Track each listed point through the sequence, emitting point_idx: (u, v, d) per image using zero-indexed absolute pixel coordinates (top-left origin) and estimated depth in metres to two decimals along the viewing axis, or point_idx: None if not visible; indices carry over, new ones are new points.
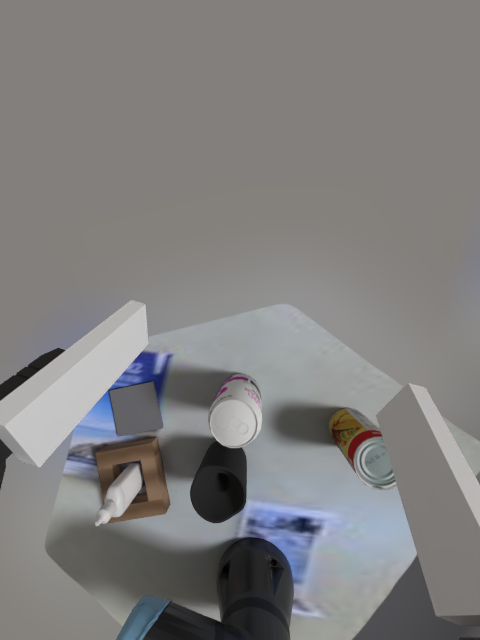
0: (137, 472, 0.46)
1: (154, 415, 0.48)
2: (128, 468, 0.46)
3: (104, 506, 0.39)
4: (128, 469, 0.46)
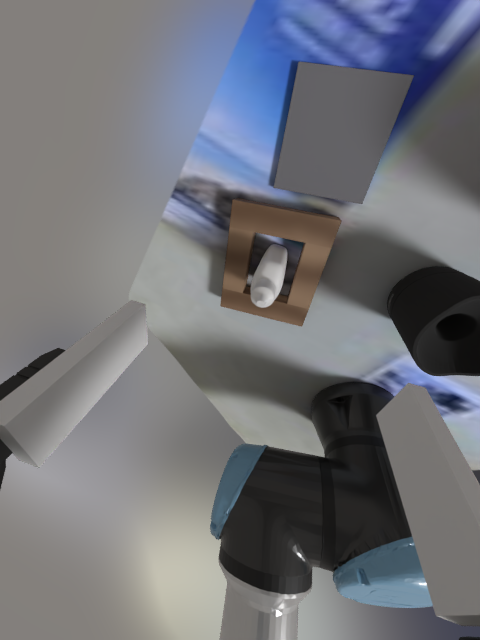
0: (286, 260, 0.29)
1: (363, 170, 0.23)
2: (277, 248, 0.28)
3: (265, 284, 0.22)
4: (279, 250, 0.27)
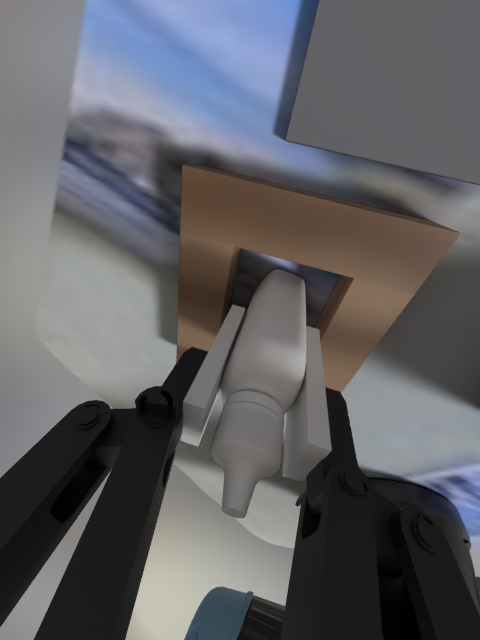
0: None
1: None
2: (286, 284, 0.13)
3: (255, 424, 0.07)
4: (291, 289, 0.12)
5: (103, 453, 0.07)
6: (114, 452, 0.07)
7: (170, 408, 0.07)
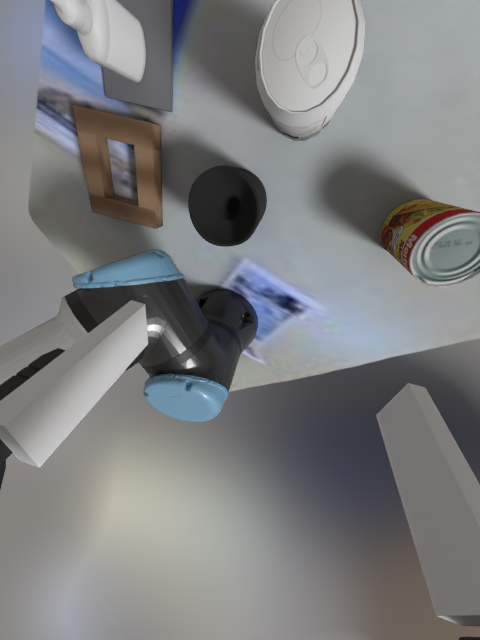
0: (135, 29, 0.27)
1: (162, 80, 0.30)
2: None
3: None
4: None
5: None
6: None
7: None
